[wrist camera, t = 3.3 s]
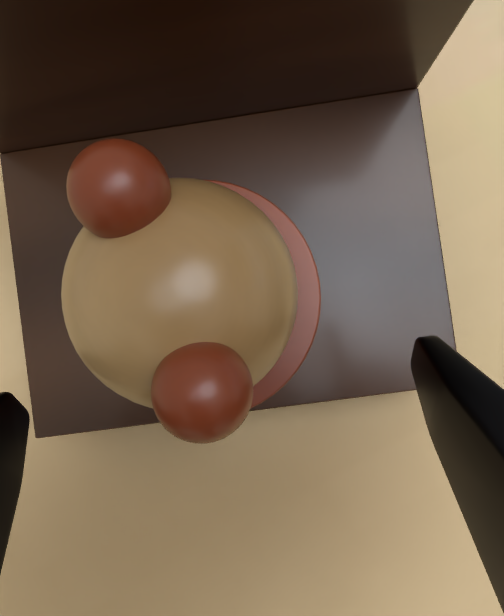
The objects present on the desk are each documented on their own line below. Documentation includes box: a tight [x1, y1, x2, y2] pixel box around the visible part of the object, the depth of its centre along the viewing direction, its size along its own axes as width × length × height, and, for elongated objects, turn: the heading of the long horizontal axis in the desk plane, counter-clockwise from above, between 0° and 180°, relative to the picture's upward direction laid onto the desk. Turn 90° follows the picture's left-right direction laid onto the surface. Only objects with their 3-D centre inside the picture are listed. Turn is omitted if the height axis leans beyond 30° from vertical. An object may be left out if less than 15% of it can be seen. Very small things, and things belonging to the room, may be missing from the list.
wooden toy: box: [61, 138, 321, 443], centre depth 10 cm, size 5×5×10 cm
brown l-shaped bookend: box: [0, 0, 474, 438], centre depth 12 cm, size 12×16×14 cm
